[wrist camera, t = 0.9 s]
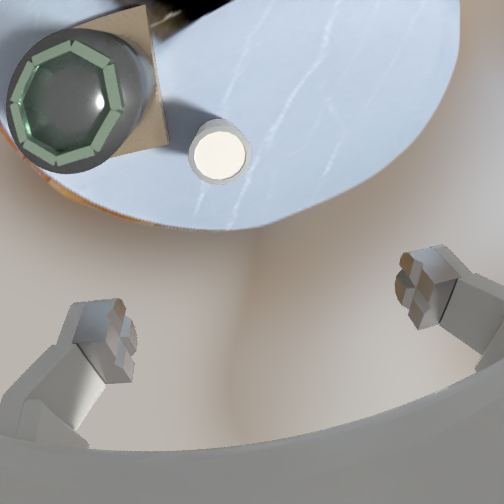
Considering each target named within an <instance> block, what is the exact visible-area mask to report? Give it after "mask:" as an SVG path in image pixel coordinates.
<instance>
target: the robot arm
mask: <svg viewBox="0 0 504 504" xmlns="http://www.w3.org/2000/svg"><path fill="white" fill-rule="evenodd" d="M399 265H400V267H401V268H402V270H401V271H400V272H399V273H398V275H397V276H396V280H395V293H396V295H397V298H398V300H399V302H400V303H401V305H403V306H405V307H406V308H408V309H409V312H408V316H409V317H410V319H411V320H412V322H413V323H414V325H415V327H416V328H417V330H421V329H424V328H428V327H431V326H434V325H437V324H440V326H441V327H443V328H444V329H446V330H447V331H448V332H450V333H451V334H453V335H454V336H456V337H457V338H458V339H460V340H461V341H463V342H464V343H465V344H467V345H468V346H470V347H471V348H472V349H474V350H475V351H477V352H478V353H480V354H481V355H482V356H481V358H480V359H479V361H478V363H477V364H476V366H475V370H476V372H477V373H475V374H473V375H471V376H469V377H467V378H465V379H463V380H461V381H459V382H456V383H455V384H452V385H450V386H448V387H446V388H443V389H441V390H439V391H437V392H434V393H432V394H430V395H427V396H425V397H422V398H420V399H417V400H415V401H412V402H410V403H407V404H404V405H402V406H399V407H396V408H394V409H391V410H388V411H385V412H382V413H379V414H376V415H373V416H370V417H367V418H364V419H360V420H357V421H353V422H350V423H347V424H343V425H340V426H336V427H332V428H328V429H324V430H320V431H316V432H311V433H307V434H302V435H298V436H294V437H288V438H283V439H278V440H272V441H266V442H260V443H253V444H246V445H239V446H230V447H221V448H211V449H199V450H183V451H150V452H149V451H144V452H142V451H111V450H96V449H89V444H88V442H87V441H86V440H85V439H83V438H82V437H81V436H80V435H79V434H77V433H76V430H77V429H78V427H79V425H80V424H81V422H82V421H83V419H84V418H85V416H86V415H87V413H88V412H89V410H90V409H91V407H92V406H93V404H94V403H95V401H96V400H97V399H98V397H99V396H100V394H101V393H102V391H103V390H104V388H105V387H106V384H115V383H129V382H132V380H133V372H134V364H135V363H134V361H133V360H132V358H131V356H132V355H133V354H134V353H135V352H136V349H137V334H136V330H135V327H134V324H133V322H132V320H131V319H130V318H128V317H127V316H125V311H126V307H125V305H124V303H123V301H122V300H121V299H119V298H115V299H105V300H95V301H88V302H77V303H73V304H72V305H71V306H70V309H69V311H68V314H67V316H66V319H65V321H64V324H63V327H62V330H61V332H60V335H59V338H58V341H57V344H56V345H51V347H49V348H48V349H47V350H46V351H45V352H44V353H43V354H42V355H41V356H40V357H39V358H38V359H37V360H36V361H35V362H34V363H33V364H32V365H31V366H30V367H29V369H28V370H26V371H25V373H23V374H22V375H21V377H20V378H19V379H18V380H17V381H16V382H15V383H14V384H13V385H12V386H11V387H10V388H9V389H8V390H7V391H6V392H5V393H4V394H3V397H2V400H1V403H0V504H504V286H503V285H501V284H498V283H496V282H494V281H492V280H490V279H488V278H486V277H483V276H481V275H479V274H477V273H475V274H473V273H472V272H471V271H470V270H469V269H468V268H467V267H466V266H465V265H464V264H463V263H462V262H461V261H460V260H459V259H458V258H457V257H456V256H455V255H454V253H452V252H451V250H449V248H448V247H446V246H444V245H437V246H433V247H429V248H425V249H420V250H416V251H410V252H405V253H403V255H402V256H401V259H400V263H399Z"/></svg>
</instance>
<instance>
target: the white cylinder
mask: <svg viewBox="0 0 504 504" xmlns="http://www.w3.org/2000/svg"><path fill="white" fill-rule="evenodd" d="M251 158H252V150H251V146H250V143H249V141H248V140H247V138H246V137H245V136H244V135H243V133H242V132H241V131H240V130H239V129H238V128H237V127H236V126H235V125H234V124H233V123H231V122H229V121H227V120H225V119H212V120H209V121H207V122H205V123H204V124H203V125H202V126H200V128H199V130H198V132H197V134H196V136H195V138H194V139H193V141H192V143H191V145H190V147H189V156H188V161H189V163H190V166H191V169H192V171H193V172H194V173H195V174H196V175H197V177H198V178H199V179H201V180H203V181H205V182H207V183H209V184H216V185H225V184H228V183H231V182H235V181H236V180H237V179H239V178H240V177H241V176H243V175H244V174H245V172H246V171H247V169H248V167H249V166H250V164H251Z"/></svg>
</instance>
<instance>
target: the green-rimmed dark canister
mask: <svg viewBox="0 0 504 504" xmlns="http://www.w3.org/2000/svg"><path fill="white" fill-rule="evenodd" d="M6 113H7V121H8V126H9V129H10V132H11V135H12V137H13V139H14V141H15V143H16V145H17V146H18V148H19V149H20V151H21V152H22V153H23V154H24V155H25V156H26V157H27V158H28V159H29V160H30V161H31V162H33V163H34V164H35V165H37V166H39V167H41V168H43V169H45V170H48V171H51V172H55V173H60V174H74V173H80V172H84V171H87V170H90V169H92V168H94V167H96V166H98V165H100V164H102V163H103V162H105V161H106V160H107V159H109V158H112V157H116V156H120V155H124V154H128V153H132V152H137V151H141V150H146V149H150V148H155V147H160V146H164V145H168V144H169V141H170V139H169V134H168V129H167V124H166V118H165V113H164V107H163V102H162V96H161V90H160V84H159V78H158V72H157V66H156V59H155V52H154V46H153V39H152V31H151V24H150V16H149V8H148V6H147V5H142V6H138V7H134V8H130V9H126V10H123V11H120V12H116V13H113V14H110V15H107V16H103V17H100V18H98V19H95V20H92V21H89V22H86V23H83V24H81V25H78V26H76V27H73V28H71V29H66V30H62V31H59V32H56V33H53V34H51V35H49V36H47V37H46V38H44V39H42V40H41V41H40V42H38V43H37V44H36V45H35V46H33V47H32V48H31V49H30V50H29V51H28V52H27V54H26V55H25V56H24V57H23V58H22V60H21V61H20V63H19V64H18V66H17V68H16V70H15V72H14V74H13V76H12V79H11V81H10V85H9V89H8V93H7V101H6Z"/></svg>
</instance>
